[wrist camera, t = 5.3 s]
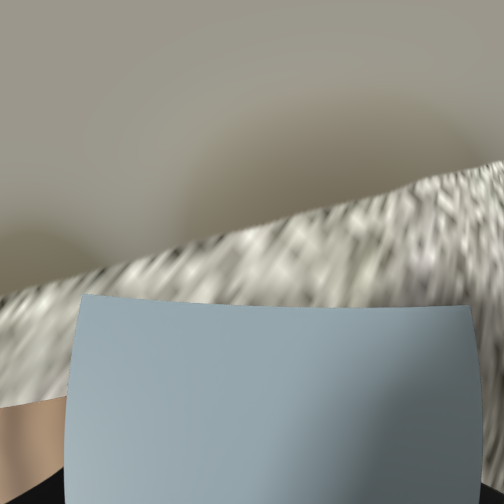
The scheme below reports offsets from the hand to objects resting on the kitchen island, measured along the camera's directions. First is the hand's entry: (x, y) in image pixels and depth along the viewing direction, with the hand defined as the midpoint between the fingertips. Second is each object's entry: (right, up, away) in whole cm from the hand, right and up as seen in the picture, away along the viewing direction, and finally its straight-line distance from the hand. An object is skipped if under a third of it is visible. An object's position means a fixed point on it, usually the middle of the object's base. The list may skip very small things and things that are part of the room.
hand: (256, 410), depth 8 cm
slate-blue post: (0, -4, +5) cm, 7 cm away
